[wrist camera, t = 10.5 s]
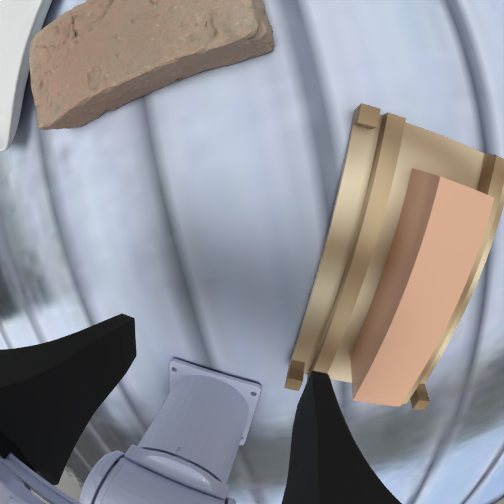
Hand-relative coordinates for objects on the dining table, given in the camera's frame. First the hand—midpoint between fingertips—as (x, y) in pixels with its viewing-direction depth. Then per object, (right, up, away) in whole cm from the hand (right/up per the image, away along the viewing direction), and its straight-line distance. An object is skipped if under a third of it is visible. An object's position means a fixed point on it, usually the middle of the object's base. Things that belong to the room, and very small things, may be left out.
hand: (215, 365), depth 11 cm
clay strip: (+11, +3, +6) cm, 13 cm away
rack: (+11, +3, +7) cm, 14 cm away
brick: (-6, +19, +6) cm, 21 cm away
